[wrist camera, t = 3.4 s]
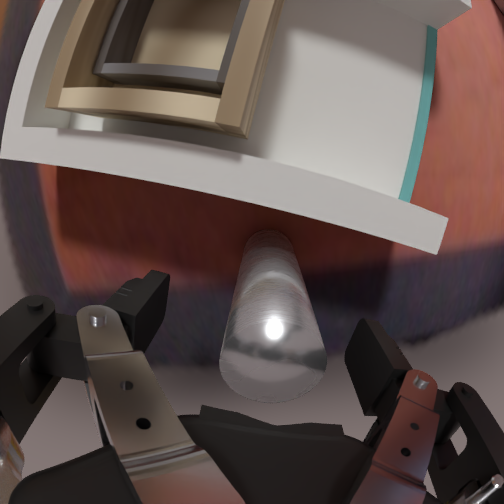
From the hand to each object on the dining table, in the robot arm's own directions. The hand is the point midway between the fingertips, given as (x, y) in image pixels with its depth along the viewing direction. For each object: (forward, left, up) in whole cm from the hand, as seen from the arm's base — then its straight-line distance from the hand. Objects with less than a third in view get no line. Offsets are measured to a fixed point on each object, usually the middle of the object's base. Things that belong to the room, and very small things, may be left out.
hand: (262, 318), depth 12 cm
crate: (+8, -13, -7) cm, 17 cm away
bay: (+5, -13, -9) cm, 16 cm away
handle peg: (0, 0, -9) cm, 9 cm away
